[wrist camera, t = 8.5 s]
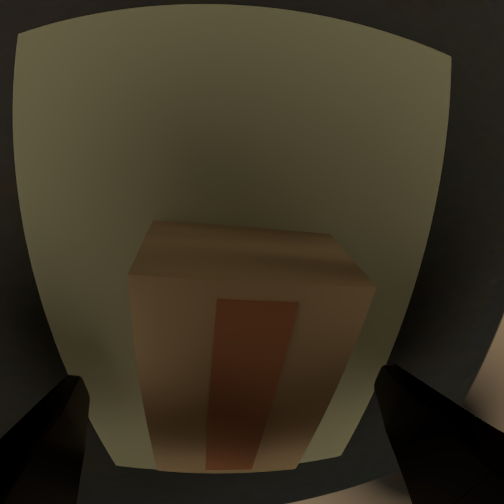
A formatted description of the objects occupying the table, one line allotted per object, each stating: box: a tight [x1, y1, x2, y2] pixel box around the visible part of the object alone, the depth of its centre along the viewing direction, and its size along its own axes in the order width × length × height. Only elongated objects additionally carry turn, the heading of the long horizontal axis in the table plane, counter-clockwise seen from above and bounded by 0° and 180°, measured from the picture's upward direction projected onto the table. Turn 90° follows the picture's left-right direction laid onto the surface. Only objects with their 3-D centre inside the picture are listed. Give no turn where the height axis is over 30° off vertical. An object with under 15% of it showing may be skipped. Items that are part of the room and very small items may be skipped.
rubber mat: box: [13, 4, 451, 469], centre depth 11 cm, size 20×13×1 cm, turn 177°
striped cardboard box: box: [128, 221, 376, 473], centre depth 9 cm, size 8×5×3 cm, turn 173°
